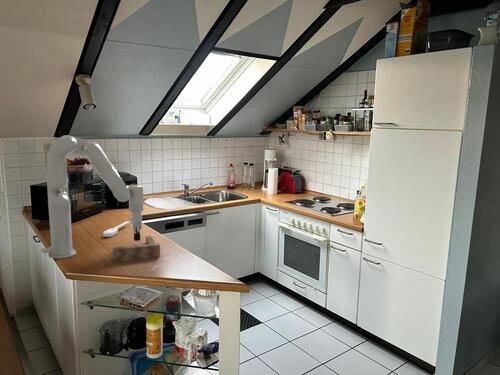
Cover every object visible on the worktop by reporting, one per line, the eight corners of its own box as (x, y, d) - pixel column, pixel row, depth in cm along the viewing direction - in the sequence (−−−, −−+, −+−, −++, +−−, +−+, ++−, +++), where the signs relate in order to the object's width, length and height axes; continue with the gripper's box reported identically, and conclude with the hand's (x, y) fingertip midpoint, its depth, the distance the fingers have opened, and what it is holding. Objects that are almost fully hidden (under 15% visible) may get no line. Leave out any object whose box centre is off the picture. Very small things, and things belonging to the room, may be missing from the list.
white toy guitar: (124, 225, 250) (124, 220, 250) (132, 225, 249) (132, 221, 249) (100, 237, 223) (100, 232, 223) (110, 238, 222) (109, 233, 222)
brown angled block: (113, 262, 185) (113, 249, 184) (109, 246, 209) (109, 234, 208) (159, 257, 194) (159, 244, 193) (151, 241, 218) (151, 230, 216)
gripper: (127, 205, 214) (128, 237, 217) (130, 211, 200) (131, 245, 203) (141, 204, 217) (142, 235, 220) (145, 210, 203) (146, 243, 206)
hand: (137, 240), depth 212 cm, fingers closed
